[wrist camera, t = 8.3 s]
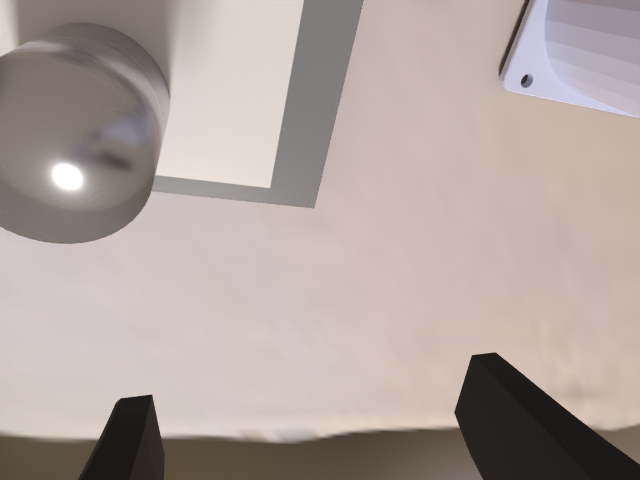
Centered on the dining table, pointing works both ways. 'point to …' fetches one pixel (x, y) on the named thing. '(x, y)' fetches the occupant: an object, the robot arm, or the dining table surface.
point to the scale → (228, 85)
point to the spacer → (78, 133)
